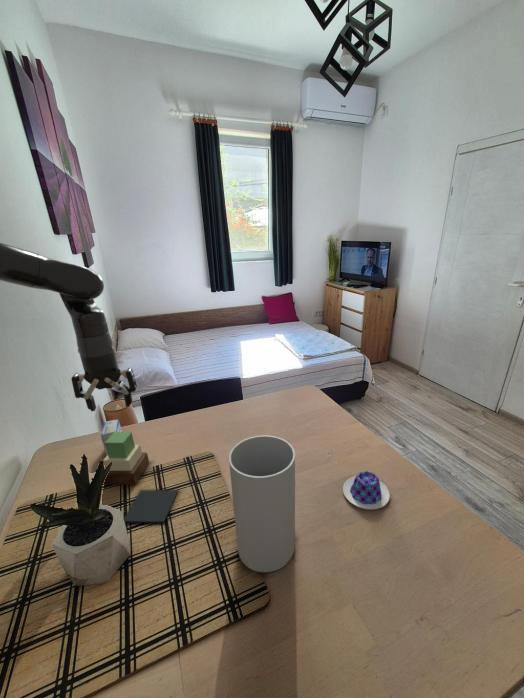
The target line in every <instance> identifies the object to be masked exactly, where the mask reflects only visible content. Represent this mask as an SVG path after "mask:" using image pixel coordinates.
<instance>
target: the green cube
mask: <svg viewBox="0 0 524 698" xmlns="http://www.w3.org/2000/svg"><path fill="white" fill-rule="evenodd" d="M135 445H136V444H135V441H134V437H133V433H132V432H131V431H122V432H114V433H113V434H112V435H111V436H110V437H109V438H108V439H107V441H106V442H105V446H106V450H107V454H108V457H109V458H127V457H128V456H129V454H130V453H131V451H132V450H133V449H134V447H135Z"/></svg>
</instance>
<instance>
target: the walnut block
mask: <svg viewBox="0 0 524 698" xmlns="http://www.w3.org/2000/svg"><path fill="white" fill-rule="evenodd" d="M148 455H149V454H148V452H147V451H146V452H145V451H144V452H143V451H142V456H141V457H140V458H139V460H138V461H137V463H136V464H135V466H134V467H133V469H132V470H131V471H109V473H108V475H107V477H106V479H105V482H104V483H103V485H104V486H105V485H111V486H112V485H117V486H118V485H119V486H123V485H125V486H136V485H137V484H138V482H139V481H140V479H141V477H142V476H143V474H144V473H145V471H146V470H147V468H148V467H149V465H150V459H149V456H148Z"/></svg>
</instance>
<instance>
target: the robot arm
mask: <svg viewBox="0 0 524 698" xmlns="http://www.w3.org/2000/svg"><path fill="white" fill-rule="evenodd" d="M0 281H1V282H5V283H9V284H13V285H18V286H22V287H27V288H31V289H35V290H43V291H44V290H45V291H50V292H55V293H58V295H59V296H60V298H61V301H62V303H63V305H64V307H65V309H66V311H67V312H68V314H69V316H70V319H71V323H72V327H73V330H74V334H75V338H76V339H75V340H76V346H77V353H78V354H79V358H80V362H81V365H82V369H83V372H84V373H81V374H80V373H79V372H75V373H74V374H73V375H72V377H71V379H70V380H71V385H72V388H73V393H74V398H76V399H80V398H81V399H84V400H85V403H86V407H87V409H88V411H89V410H90V412H95V411H96V409H97V405H96V401H95V398H94V395H92V394H93V393H94V391H95V389H97V390H104V389H113V388H114V389H116V390H117V391H119V392H120V393H122V394H123V399H124V403H125V407H126V408H130V406H131V405H132V403H133V397H132V393H135V392H136V391H137V388H138V384H137V381H136V377H135V374H134V370H133V368H132V367H128V368H127V369H123V370H121V369H120V368H119V365H118V361H117V356H116V352H115V348H114V344H113V339H112V336H111V334H110V330H109V326H108V322H107V317H106V315H105V312H104V311H103V310H102V309H101V308H100V307H98V306H97V304H96V302H95V299H97V298H99V297H100V296H101V295H102V294H103V292H104V289H105V283H104V281H103V279H102V277H101V276H100V274H99V273H98V272H97V271H95V270H93V269H91V268H88V267H85V266H82V265H77V264H74V263H69V262H65V261H62V260H56V259H53V258H50V257H47V256H45V255H41V254H40V253H35V252H32V251H30V250H27V249H22V248H19V247H17V246H14V245H10V244H6V243H3V242H0ZM121 376H123V377H124V378H125V379H126V380H127V383H128V384H126V383H125V381H124V380H122V379H121ZM83 381H86V382H87V383H88V384H90V385H89V387H88V389H87V390H86V391H85V390H84V387H83V384H82V383H83Z"/></svg>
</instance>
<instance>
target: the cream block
mask: <svg viewBox="0 0 524 698" xmlns="http://www.w3.org/2000/svg"><path fill="white" fill-rule="evenodd" d="M134 445H135V447H134V449H133V450H132V451H131V453H130V454H129V456H128V457H127V458H109V457H108V455H106V456H105V457H104V458H103V460H102V461H103V465H104V468H106V467H107V466H108V465H109V464H110V463H111V462H112V466H111V469H110V471H131V470H132V469H133V467H134V466H135V464H136V463H137V461H138V460H139V458H140V457H141V456H142V452H143V451H142V448H141V444H134Z"/></svg>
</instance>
